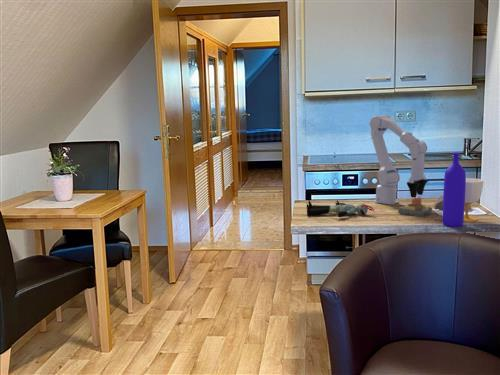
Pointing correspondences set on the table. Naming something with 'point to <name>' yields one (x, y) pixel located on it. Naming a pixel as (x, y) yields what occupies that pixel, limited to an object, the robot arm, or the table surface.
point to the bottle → (454, 194)
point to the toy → (337, 209)
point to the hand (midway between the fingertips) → (416, 195)
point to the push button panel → (415, 210)
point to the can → (416, 200)
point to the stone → (439, 204)
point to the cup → (472, 194)
